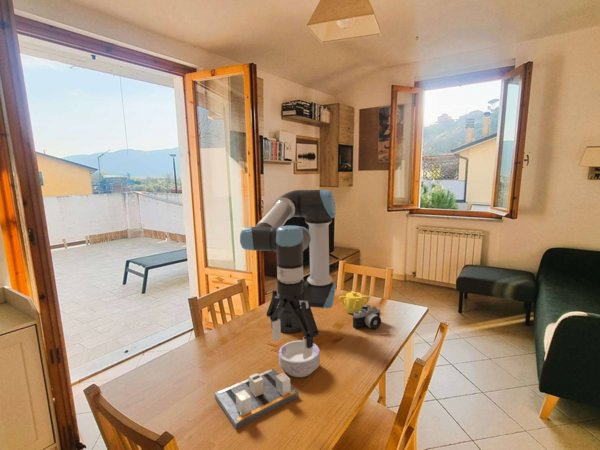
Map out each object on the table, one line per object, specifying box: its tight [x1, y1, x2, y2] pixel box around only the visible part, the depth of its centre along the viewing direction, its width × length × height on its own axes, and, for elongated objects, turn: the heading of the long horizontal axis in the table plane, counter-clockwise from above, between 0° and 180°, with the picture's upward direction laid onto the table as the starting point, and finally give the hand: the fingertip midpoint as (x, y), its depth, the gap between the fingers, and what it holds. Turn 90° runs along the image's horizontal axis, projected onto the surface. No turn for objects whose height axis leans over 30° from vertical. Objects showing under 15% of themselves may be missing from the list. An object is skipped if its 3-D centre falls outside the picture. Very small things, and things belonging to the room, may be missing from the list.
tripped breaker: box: [248, 372, 264, 397], centre depth 103 cm, size 4×3×5 cm
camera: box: [352, 304, 382, 330], centre depth 150 cm, size 16×9×10 cm, turn 117°
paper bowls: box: [278, 339, 321, 378], centre depth 118 cm, size 15×15×8 cm
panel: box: [214, 368, 300, 430], centre depth 103 cm, size 16×22×7 cm
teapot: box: [339, 290, 370, 315], centre depth 167 cm, size 14×13×10 cm
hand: (291, 348), depth 95 cm, fingers open, 13 cm apart
